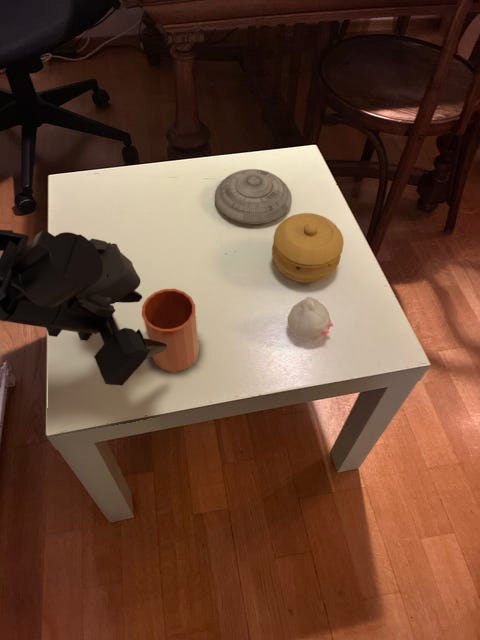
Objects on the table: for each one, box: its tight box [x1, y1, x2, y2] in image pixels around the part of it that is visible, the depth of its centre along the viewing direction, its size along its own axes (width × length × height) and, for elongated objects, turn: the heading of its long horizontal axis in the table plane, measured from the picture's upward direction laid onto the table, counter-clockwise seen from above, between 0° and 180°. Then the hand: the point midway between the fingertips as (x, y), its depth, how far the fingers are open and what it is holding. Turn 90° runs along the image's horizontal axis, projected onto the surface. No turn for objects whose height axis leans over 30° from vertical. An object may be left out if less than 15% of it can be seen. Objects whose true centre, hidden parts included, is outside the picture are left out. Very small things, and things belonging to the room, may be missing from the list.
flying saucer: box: [214, 168, 293, 225], centre depth 93 cm, size 15×15×6 cm
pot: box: [271, 212, 345, 284], centre depth 82 cm, size 12×12×10 cm
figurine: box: [287, 296, 334, 342], centre depth 74 cm, size 6×7×8 cm
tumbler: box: [141, 288, 200, 373], centre depth 71 cm, size 7×7×11 cm
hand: (152, 322), depth 66 cm, fingers open, 9 cm apart
